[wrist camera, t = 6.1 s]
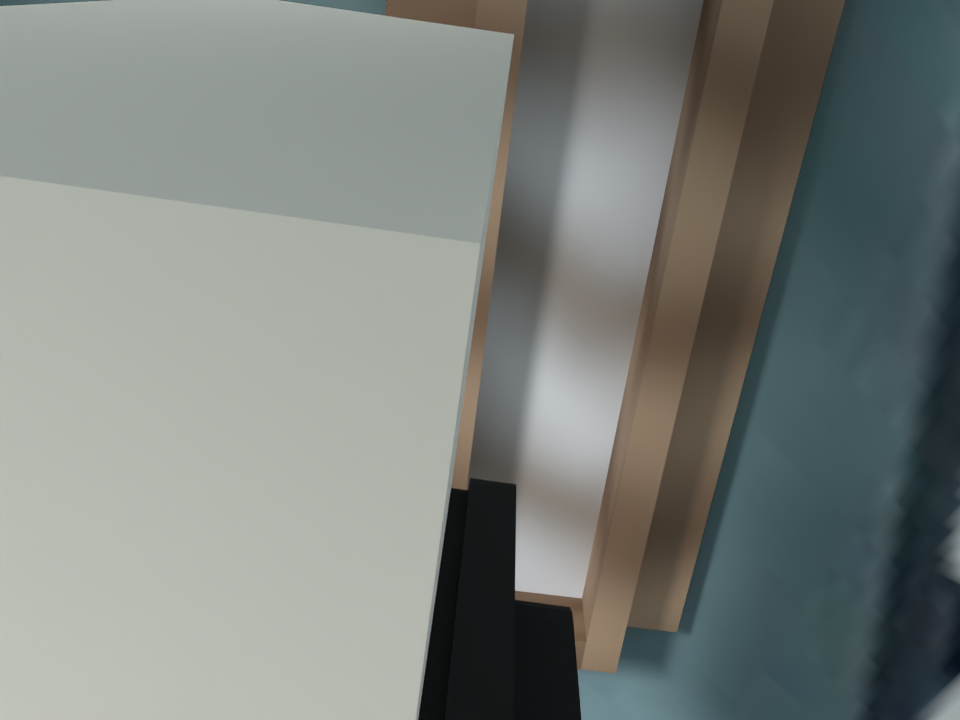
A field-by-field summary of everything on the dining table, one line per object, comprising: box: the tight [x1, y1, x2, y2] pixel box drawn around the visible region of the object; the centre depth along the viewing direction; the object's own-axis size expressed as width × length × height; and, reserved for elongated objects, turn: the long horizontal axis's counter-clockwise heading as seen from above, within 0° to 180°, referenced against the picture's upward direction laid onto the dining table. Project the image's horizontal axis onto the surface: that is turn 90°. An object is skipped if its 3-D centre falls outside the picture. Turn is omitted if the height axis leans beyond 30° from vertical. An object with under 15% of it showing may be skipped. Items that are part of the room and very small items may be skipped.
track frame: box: [386, 0, 845, 673], centre depth 25 cm, size 26×12×3 cm, turn 174°
